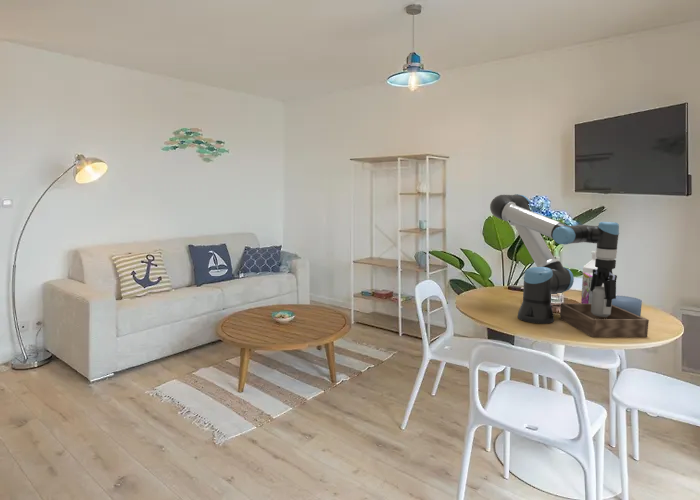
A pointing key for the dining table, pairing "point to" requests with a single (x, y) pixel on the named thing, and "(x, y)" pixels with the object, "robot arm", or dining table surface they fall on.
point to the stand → (628, 304)
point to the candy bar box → (586, 288)
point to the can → (598, 302)
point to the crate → (604, 321)
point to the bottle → (591, 265)
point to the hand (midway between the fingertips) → (600, 311)
